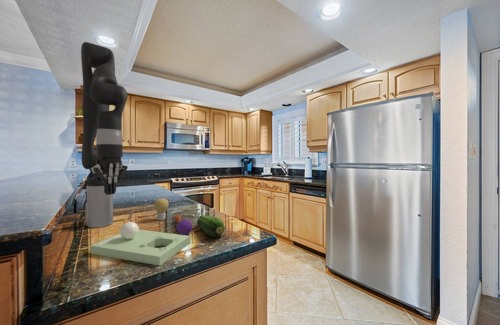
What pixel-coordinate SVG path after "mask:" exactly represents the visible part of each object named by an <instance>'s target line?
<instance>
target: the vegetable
mask: <svg viewBox="0 0 500 325" xmlns="http://www.w3.org/2000/svg"><path fill="white" fill-rule="evenodd" d="M196 225H198V228H200V229H202V230H203V232H204V234H206V235H207V236H209V237H211V238H219V237H221V236H222V234H224V233H225V230H226V228H225V227H226V225H225V222H224V221H223V220H222V219H221V218H219V217H217V216H211V215H205V214H204V215H200V216H199V217H198V218H197V222H196Z"/></svg>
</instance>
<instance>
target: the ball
mask: <svg viewBox="0 0 500 325" xmlns="http://www.w3.org/2000/svg"><path fill="white" fill-rule="evenodd" d="M139 230H140V228H139V226H138V224H137V223H136V222H133V221H128V222H126V223H123V225H122V226H121V227H120V230H119V233H120V234H121V236H122V237H123V238H125V239H132V238H134V237H135V236H136V235H137V234H138V232H139Z"/></svg>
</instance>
